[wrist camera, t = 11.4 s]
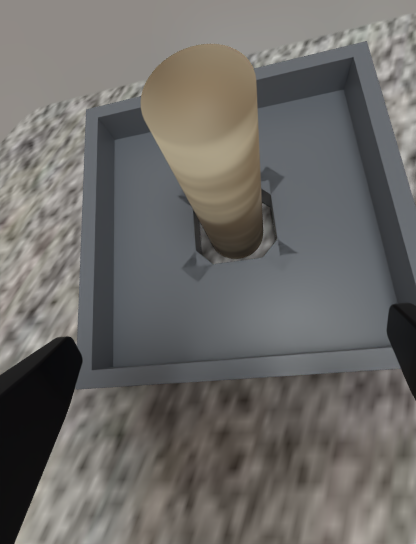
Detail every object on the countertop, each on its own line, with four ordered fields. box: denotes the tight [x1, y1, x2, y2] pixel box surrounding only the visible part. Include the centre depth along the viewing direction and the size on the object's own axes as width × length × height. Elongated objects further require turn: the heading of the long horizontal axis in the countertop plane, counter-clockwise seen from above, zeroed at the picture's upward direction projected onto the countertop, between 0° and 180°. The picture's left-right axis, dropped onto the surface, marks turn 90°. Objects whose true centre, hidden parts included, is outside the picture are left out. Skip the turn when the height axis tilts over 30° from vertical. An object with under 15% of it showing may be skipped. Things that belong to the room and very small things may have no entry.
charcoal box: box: [75, 41, 416, 390], centre depth 20 cm, size 20×20×4 cm
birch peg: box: [141, 44, 263, 259], centre depth 16 cm, size 4×4×13 cm
